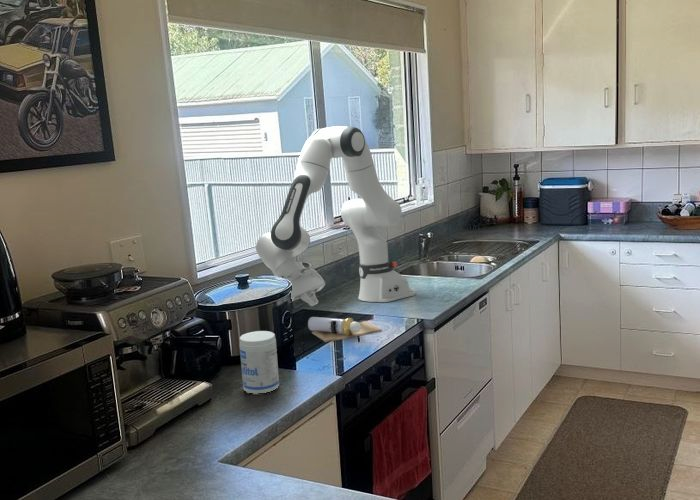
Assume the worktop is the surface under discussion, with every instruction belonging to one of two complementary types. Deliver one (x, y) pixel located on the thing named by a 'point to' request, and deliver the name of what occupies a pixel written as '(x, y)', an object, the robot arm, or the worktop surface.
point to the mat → (328, 336)
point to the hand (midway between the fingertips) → (315, 304)
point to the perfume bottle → (334, 325)
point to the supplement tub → (259, 362)
